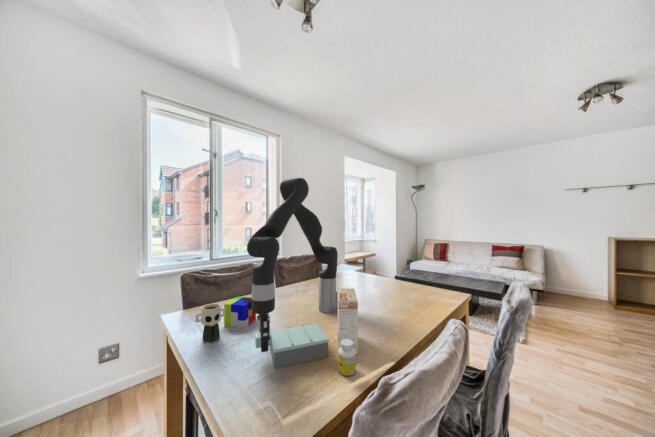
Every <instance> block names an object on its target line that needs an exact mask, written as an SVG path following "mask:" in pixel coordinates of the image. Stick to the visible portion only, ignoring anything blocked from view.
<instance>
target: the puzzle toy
mask: <svg viewBox="0 0 655 437" xmlns="http://www.w3.org/2000/svg"><path fill="white" fill-rule="evenodd" d="M223 308H225V309H226V315H225V316H223V325H224V327H228V328H237V329H238V328H239V329H245V328H247V327H248V326H249V325H251V323H253V322H254V321H255V320H257V314H255V313H253V312H252V297H247V296H246V297H243V296H236V297H234V298H232V299H231V300H229V301H227V302H225V303H224V304H223Z"/></svg>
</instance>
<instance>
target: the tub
mask: <svg viewBox="0 0 655 437" xmlns="http://www.w3.org/2000/svg"><path fill="white" fill-rule="evenodd" d="M269 351H270V355H271V359H272V364H273V369H274V370H275V369H280V368H284V367H289V366H294V365H297V364H303V363H307V362H312V361H316V360H322V359H325V358H328V357H329V342H327V343H322V344H316V345H311V346H306V347H301V348H296V349H291V350H286V351H281V352H276V353H273V349H272V346H269Z"/></svg>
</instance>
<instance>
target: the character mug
mask: <svg viewBox="0 0 655 437" xmlns="http://www.w3.org/2000/svg"><path fill="white" fill-rule="evenodd" d="M225 315H226V309H225V308H224V307H223V308H222V305H221V303H209V304H205V305H203V306H201V309H200V313H196V314H195V323H201V325H203V332H202V340H203V342H206V343H207V342H212V341H213V340H214V341H216V340H218V339H219V338H220V337H221V336H220V335H221V333H220V327H219V326H220V325H219V322H221V320H222V317H224V316H225ZM199 317H201V318H200V319H199Z"/></svg>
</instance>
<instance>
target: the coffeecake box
mask: <svg viewBox="0 0 655 437" xmlns="http://www.w3.org/2000/svg"><path fill="white" fill-rule="evenodd" d="M337 292H338V310H337V346H338V348H337V349H338V351H339V349H340V347H341V341H342V340H343V339H350V340H352V341H353V348H354V349H355V351H356V355H358V354H359V329H358V328H359V319H358V318H359V314H358V313H359V310H358V308H359V306H358V305H359V301H358V297H357V293H356V290H355V288H353V287H352V288H350V287H349V288H347V287H346V288H345V287H339V288H337Z"/></svg>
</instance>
